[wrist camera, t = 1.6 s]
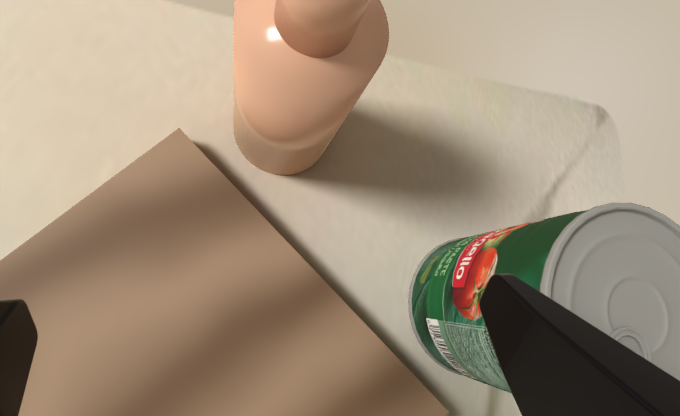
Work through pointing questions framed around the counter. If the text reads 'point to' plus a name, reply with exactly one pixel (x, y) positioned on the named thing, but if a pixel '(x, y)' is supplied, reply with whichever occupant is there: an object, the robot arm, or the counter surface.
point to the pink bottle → (300, 75)
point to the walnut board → (191, 308)
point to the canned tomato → (556, 284)
